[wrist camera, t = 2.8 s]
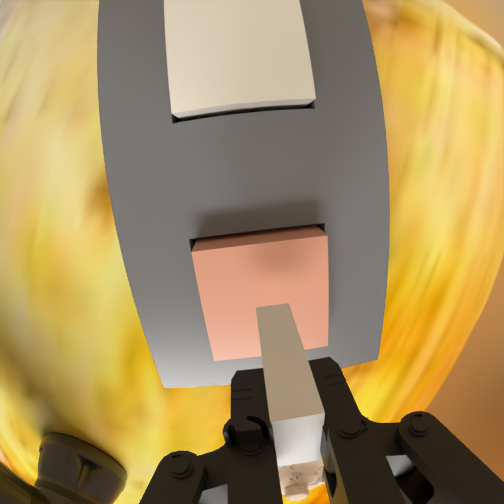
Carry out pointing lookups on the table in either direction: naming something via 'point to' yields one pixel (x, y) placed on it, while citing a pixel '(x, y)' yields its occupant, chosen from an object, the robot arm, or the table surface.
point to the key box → (244, 182)
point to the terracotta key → (262, 285)
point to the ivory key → (236, 57)
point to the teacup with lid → (300, 479)
